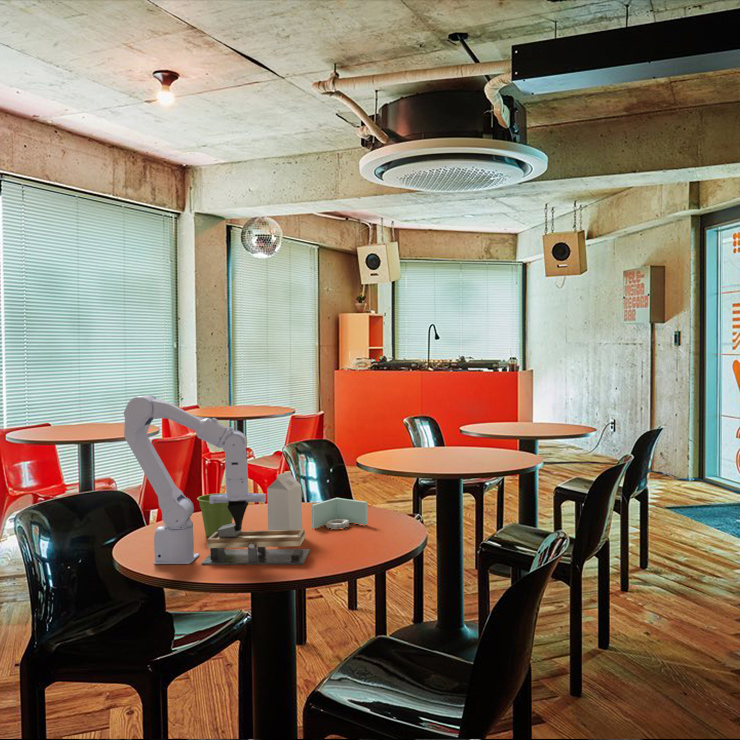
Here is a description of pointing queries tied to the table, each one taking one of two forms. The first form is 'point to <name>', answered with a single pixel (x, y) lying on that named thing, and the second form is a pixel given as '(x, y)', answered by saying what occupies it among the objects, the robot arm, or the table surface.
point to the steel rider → (228, 531)
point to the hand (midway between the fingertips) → (239, 530)
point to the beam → (259, 539)
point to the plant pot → (214, 514)
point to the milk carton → (284, 503)
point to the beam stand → (256, 556)
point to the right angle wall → (339, 513)
